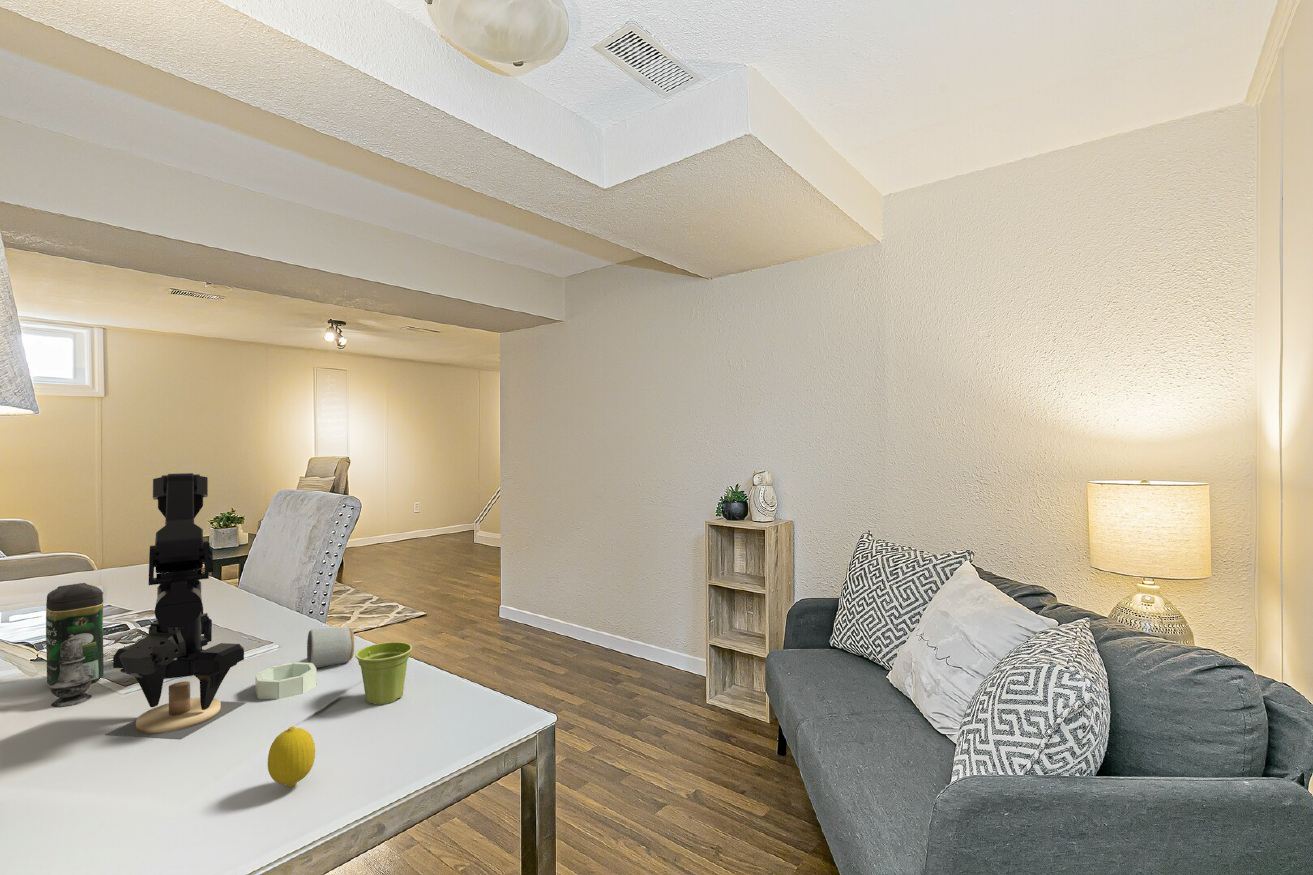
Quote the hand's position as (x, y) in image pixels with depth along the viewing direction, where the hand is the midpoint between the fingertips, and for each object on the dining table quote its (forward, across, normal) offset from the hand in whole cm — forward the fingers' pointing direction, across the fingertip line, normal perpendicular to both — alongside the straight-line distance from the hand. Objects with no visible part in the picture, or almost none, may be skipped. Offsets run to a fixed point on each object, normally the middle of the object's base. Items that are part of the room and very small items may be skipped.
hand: (179, 707), depth 101 cm
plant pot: (+3, +28, +13) cm, 31 cm away
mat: (+3, 0, 0) cm, 3 cm away
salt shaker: (+3, -27, +6) cm, 28 cm away
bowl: (+3, +9, +13) cm, 16 cm away
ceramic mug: (+3, +7, +28) cm, 29 cm away
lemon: (+3, +31, -15) cm, 35 cm away
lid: (+2, 0, 0) cm, 2 cm away
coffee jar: (+3, -35, +14) cm, 38 cm away
